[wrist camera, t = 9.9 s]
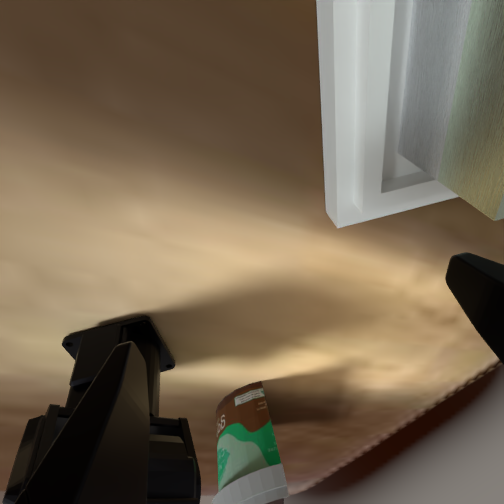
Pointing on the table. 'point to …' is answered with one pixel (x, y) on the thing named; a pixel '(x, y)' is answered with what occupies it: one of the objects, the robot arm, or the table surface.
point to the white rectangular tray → (367, 111)
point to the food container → (248, 450)
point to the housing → (457, 98)
